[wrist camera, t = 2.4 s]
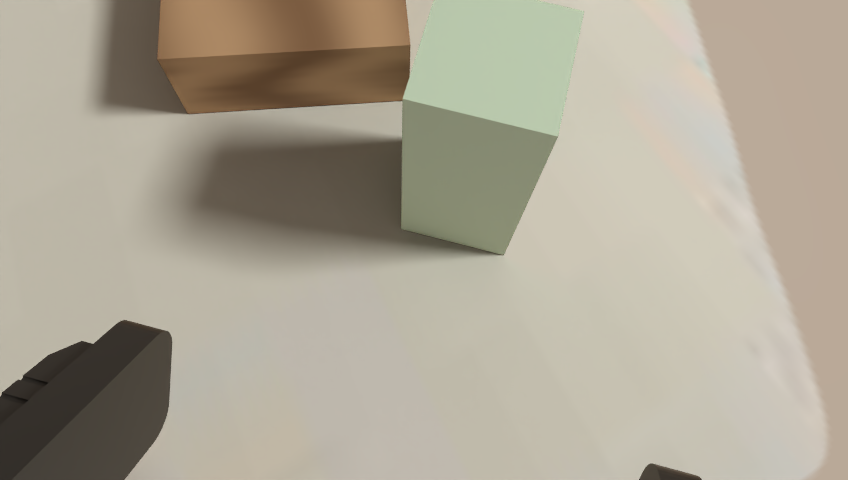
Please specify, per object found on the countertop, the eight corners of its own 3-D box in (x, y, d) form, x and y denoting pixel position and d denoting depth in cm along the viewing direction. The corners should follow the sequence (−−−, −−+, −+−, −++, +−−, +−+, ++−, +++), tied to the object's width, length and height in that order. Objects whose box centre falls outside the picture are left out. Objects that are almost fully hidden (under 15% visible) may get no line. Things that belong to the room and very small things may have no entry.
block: (503, 255, 28) (558, 136, 18) (401, 229, 28) (402, 98, 18) (524, 163, 29) (584, 11, 20) (427, 139, 29) (440, -22, 20)
